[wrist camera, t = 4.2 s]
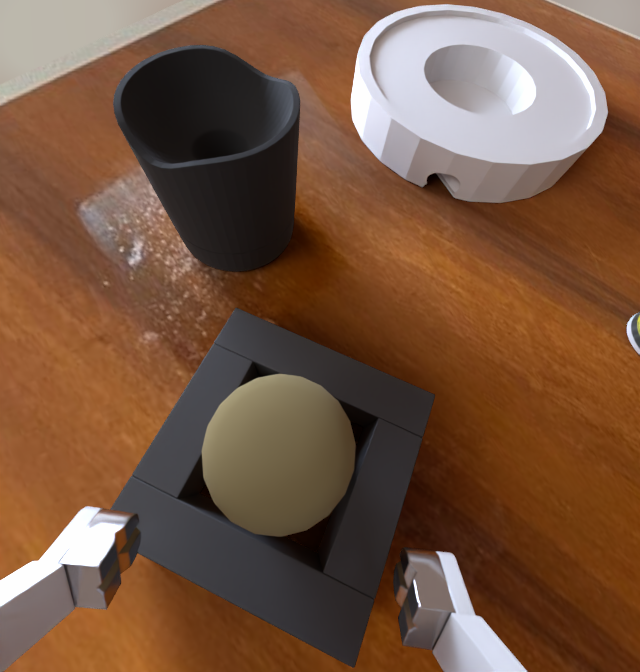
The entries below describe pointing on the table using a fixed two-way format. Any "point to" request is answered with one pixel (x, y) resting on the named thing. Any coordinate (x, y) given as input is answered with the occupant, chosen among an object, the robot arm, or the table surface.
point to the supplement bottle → (634, 332)
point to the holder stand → (281, 552)
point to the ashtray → (474, 101)
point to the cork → (278, 455)
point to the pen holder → (216, 151)
